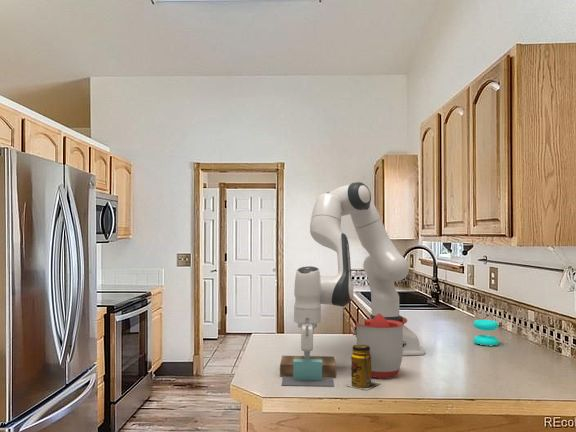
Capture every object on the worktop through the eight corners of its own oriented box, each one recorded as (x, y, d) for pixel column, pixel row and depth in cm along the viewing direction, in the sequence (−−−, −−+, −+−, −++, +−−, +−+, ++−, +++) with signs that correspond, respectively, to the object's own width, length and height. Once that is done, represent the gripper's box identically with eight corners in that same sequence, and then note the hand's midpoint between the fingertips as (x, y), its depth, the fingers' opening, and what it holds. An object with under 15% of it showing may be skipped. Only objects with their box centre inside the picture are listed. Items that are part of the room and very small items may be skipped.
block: (322, 359, 155) (322, 362, 153) (321, 377, 156) (322, 380, 154) (293, 358, 155) (293, 361, 153) (293, 376, 156) (293, 379, 154)
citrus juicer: (366, 364, 174) (366, 308, 175) (411, 373, 163) (411, 313, 164) (342, 373, 162) (342, 313, 163) (389, 384, 151) (389, 318, 152)
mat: (332, 378, 157) (332, 377, 157) (334, 386, 148) (334, 385, 148) (283, 377, 158) (283, 376, 158) (281, 385, 149) (281, 384, 149)
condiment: (345, 386, 149) (345, 346, 150) (360, 379, 156) (360, 341, 156) (366, 390, 145) (366, 349, 145) (380, 384, 151) (380, 345, 152)
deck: (334, 368, 169) (334, 356, 170) (335, 377, 157) (335, 365, 158) (282, 367, 170) (282, 355, 170) (280, 376, 158) (280, 364, 158)
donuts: (468, 319, 213) (486, 318, 216) (468, 343, 212) (487, 341, 216) (484, 323, 203) (503, 322, 207) (485, 347, 203) (504, 346, 206)
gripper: (317, 321, 151) (317, 367, 150) (316, 312, 171) (316, 352, 170) (296, 321, 151) (296, 367, 150) (298, 311, 171) (298, 351, 171)
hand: (307, 359), depth 160 cm, fingers closed
